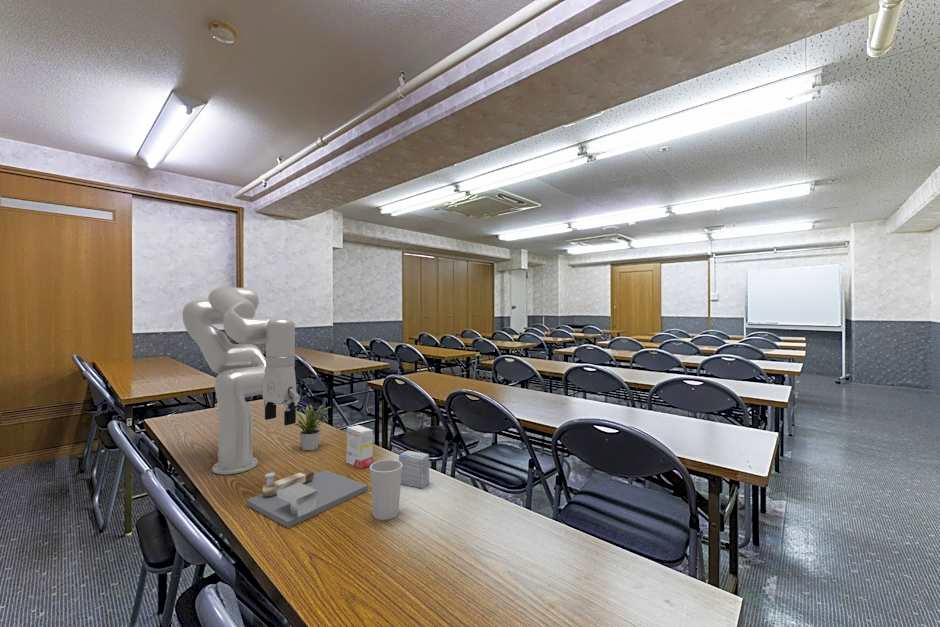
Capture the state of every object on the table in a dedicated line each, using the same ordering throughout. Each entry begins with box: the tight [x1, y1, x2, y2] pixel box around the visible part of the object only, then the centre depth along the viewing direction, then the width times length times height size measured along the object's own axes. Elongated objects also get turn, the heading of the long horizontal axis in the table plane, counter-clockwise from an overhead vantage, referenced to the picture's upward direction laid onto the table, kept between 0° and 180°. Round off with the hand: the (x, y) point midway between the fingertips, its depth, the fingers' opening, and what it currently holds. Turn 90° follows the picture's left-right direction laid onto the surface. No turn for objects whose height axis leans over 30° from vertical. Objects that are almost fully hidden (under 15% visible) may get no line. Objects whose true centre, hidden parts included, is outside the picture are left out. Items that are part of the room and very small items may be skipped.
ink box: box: [345, 424, 374, 469], centre depth 134 cm, size 9×5×12 cm, turn 49°
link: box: [262, 469, 315, 496], centre depth 112 cm, size 14×4×2 cm, turn 146°
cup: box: [369, 459, 402, 521], centre depth 101 cm, size 8×8×12 cm
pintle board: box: [245, 469, 369, 529], centre depth 109 cm, size 19×24×7 cm
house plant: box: [293, 403, 331, 451], centre depth 148 cm, size 14×14×16 cm
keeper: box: [277, 483, 318, 517], centre depth 100 cm, size 8×6×4 cm
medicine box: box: [398, 450, 430, 489], centre depth 119 cm, size 8×4×9 cm, turn 65°
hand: (280, 421), depth 117 cm, fingers open, 9 cm apart
